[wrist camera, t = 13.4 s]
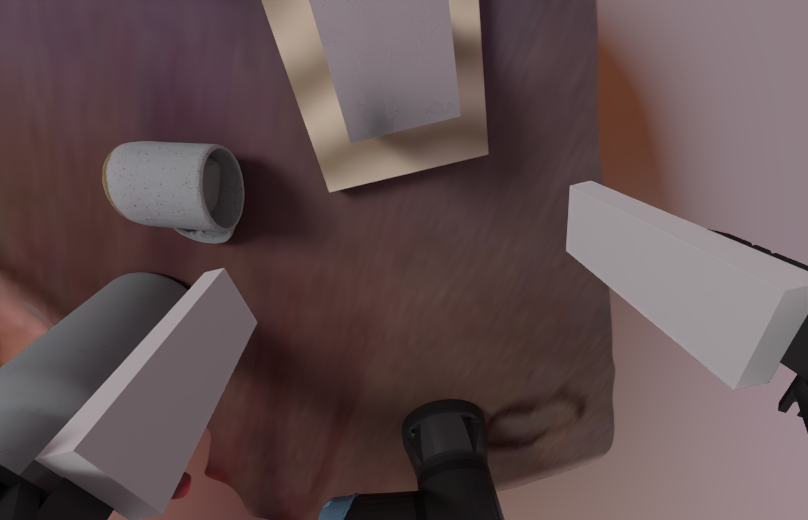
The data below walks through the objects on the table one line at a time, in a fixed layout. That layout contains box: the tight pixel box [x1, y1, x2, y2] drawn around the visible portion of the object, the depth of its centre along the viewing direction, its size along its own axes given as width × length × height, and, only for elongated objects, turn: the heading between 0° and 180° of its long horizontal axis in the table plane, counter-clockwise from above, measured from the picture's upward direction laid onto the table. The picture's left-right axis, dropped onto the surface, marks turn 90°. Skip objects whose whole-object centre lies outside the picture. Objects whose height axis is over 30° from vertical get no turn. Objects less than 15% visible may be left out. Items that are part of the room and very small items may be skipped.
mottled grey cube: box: [309, 0, 461, 143], centre depth 21 cm, size 7×7×9 cm
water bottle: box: [0, 272, 188, 475], centre depth 25 cm, size 10×10×28 cm
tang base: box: [261, 0, 489, 192], centre depth 23 cm, size 18×16×8 cm
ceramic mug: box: [102, 141, 245, 243], centre depth 28 cm, size 11×8×8 cm
